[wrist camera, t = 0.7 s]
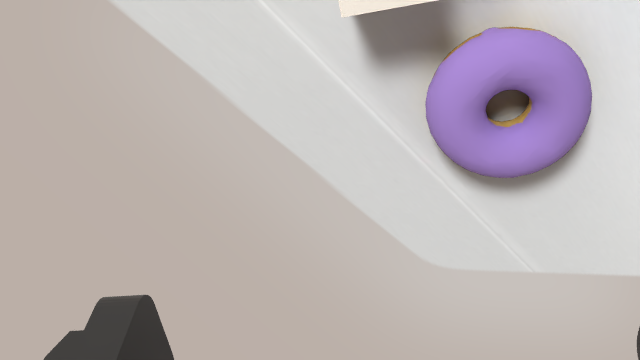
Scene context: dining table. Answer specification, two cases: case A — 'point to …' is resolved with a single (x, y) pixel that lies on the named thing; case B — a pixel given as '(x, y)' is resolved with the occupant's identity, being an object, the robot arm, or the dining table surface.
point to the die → (373, 5)
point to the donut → (499, 75)
